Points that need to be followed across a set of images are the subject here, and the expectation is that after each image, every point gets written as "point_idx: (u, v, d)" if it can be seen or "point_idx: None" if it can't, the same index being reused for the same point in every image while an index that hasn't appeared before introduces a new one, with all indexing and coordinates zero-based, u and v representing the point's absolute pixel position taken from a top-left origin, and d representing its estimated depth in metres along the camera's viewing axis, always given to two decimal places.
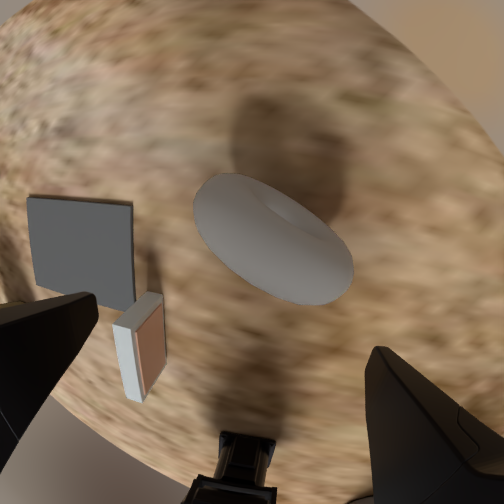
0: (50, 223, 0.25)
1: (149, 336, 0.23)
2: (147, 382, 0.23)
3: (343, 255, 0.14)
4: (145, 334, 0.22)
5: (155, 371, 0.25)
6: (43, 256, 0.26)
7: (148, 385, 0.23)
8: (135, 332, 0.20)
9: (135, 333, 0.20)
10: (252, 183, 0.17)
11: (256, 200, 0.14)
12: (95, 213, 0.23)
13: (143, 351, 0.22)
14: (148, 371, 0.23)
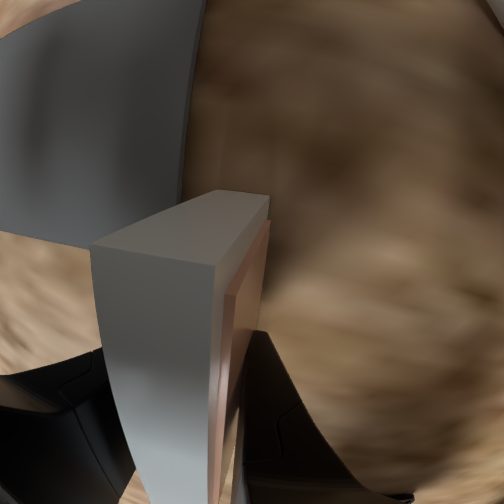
0: (4, 74, 0.08)
1: (248, 327, 0.06)
2: (225, 473, 0.06)
3: None
4: (245, 315, 0.05)
5: (236, 431, 0.08)
6: None
7: (224, 478, 0.07)
8: (227, 297, 0.04)
9: (229, 301, 0.04)
10: None
11: None
12: (107, 8, 0.07)
13: (233, 389, 0.05)
14: (229, 444, 0.06)
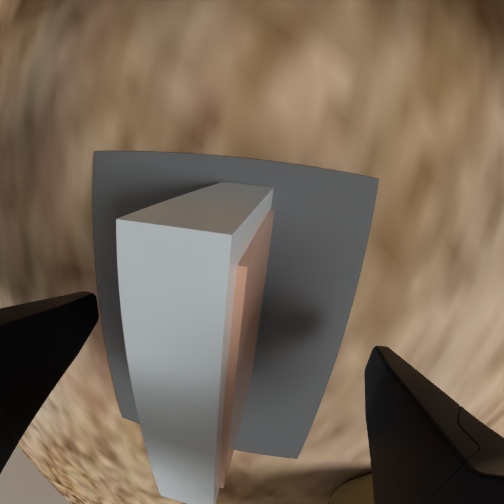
0: None
1: (254, 307, 0.07)
2: (230, 455, 0.07)
3: None
4: (253, 293, 0.06)
5: (241, 415, 0.08)
6: None
7: (229, 460, 0.07)
8: (239, 268, 0.04)
9: (241, 273, 0.04)
10: None
11: None
12: (111, 249, 0.11)
13: (241, 364, 0.06)
14: (235, 424, 0.07)
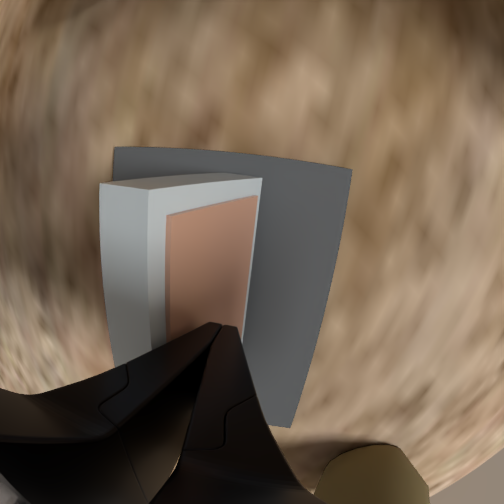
0: None
1: (213, 264, 0.09)
2: None
3: None
4: (202, 247, 0.08)
5: None
6: None
7: None
8: (167, 217, 0.06)
9: (169, 220, 0.06)
10: None
11: None
12: None
13: (187, 302, 0.08)
14: None
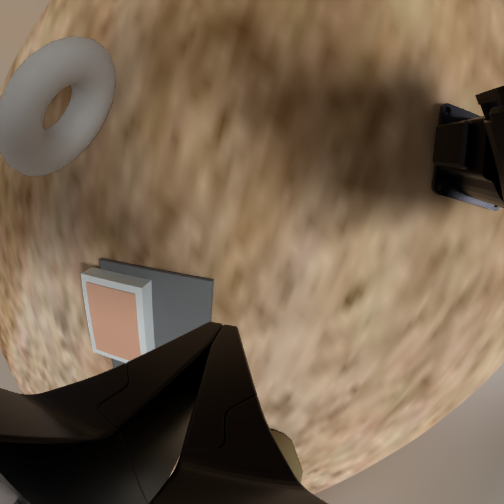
0: None
1: (106, 306, 0.22)
2: (101, 343, 0.23)
3: None
4: (99, 297, 0.22)
5: (116, 349, 0.23)
6: None
7: (102, 347, 0.23)
8: (86, 282, 0.22)
9: (86, 283, 0.22)
10: None
11: None
12: None
13: (95, 309, 0.22)
14: (102, 335, 0.23)
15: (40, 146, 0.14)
